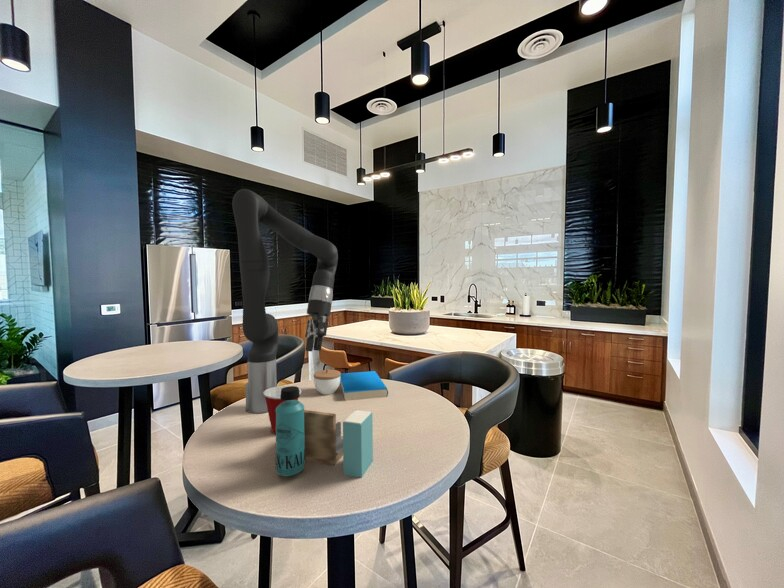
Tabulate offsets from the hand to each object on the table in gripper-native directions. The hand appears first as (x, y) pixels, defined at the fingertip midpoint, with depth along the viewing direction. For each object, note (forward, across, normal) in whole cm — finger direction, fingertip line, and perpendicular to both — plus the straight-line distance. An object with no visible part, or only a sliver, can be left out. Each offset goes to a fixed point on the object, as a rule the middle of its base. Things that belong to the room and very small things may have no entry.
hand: (312, 350), depth 101 cm
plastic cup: (+24, -3, -4) cm, 25 cm away
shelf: (+26, +12, +2) cm, 29 cm away
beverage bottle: (+30, +20, -7) cm, 37 cm away
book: (+12, -24, +30) cm, 41 cm away
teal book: (+27, +26, +7) cm, 38 cm away
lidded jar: (+14, -28, +17) cm, 35 cm away
